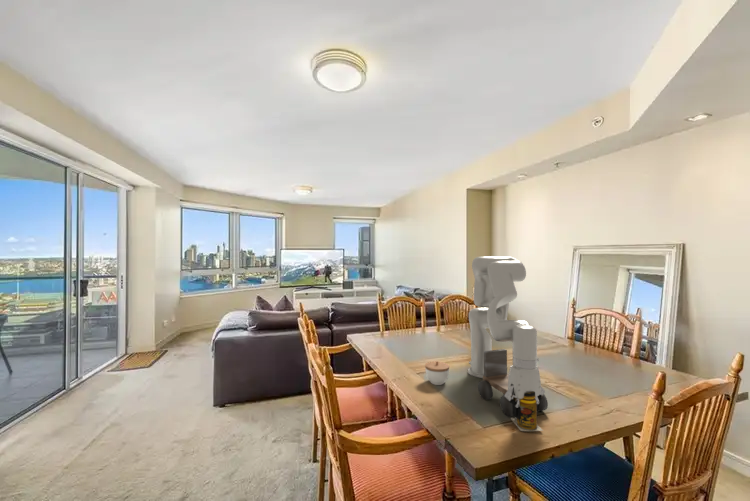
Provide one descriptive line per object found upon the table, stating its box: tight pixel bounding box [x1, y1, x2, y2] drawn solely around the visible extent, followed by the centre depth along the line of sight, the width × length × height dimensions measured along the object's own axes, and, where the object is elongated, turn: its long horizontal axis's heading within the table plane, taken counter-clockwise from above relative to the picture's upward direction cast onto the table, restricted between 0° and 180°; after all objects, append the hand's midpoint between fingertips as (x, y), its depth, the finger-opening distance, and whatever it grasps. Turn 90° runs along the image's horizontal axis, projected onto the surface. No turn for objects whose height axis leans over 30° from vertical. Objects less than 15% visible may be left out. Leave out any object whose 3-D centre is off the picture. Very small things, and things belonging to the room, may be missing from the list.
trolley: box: [477, 348, 549, 418], centre depth 128 cm, size 21×15×18 cm
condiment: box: [510, 392, 544, 432], centre depth 112 cm, size 7×8×12 cm
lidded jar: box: [424, 360, 450, 386], centre depth 150 cm, size 11×11×9 cm
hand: (525, 415), depth 112 cm, fingers closed on condiment, 6 cm apart
